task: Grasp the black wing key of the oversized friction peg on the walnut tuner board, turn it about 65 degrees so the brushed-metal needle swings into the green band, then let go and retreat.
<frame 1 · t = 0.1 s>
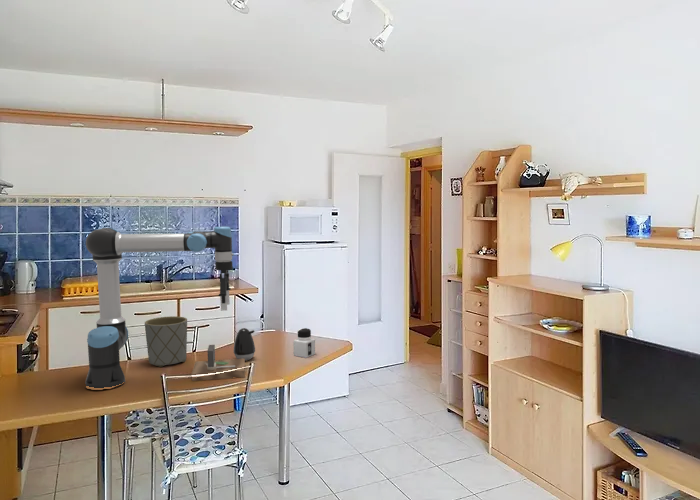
hand: (225, 307, 242), 28 cm above the table, fingers open, 13 cm apart
container: (304, 355, 263), on the table
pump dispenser: (244, 359, 257), on the table
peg: (221, 357, 233), point 8 cm above the table, hinge at 0.0°
planter: (167, 362, 254), on the table
tuner board: (219, 372, 237), on the table
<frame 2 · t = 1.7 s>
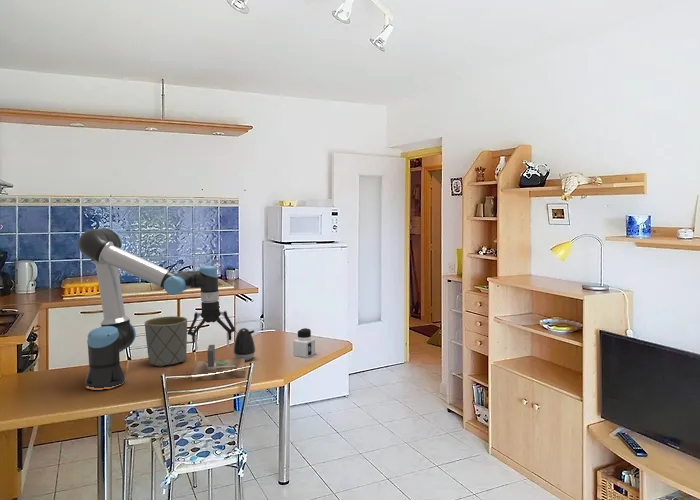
hand: (212, 348, 235), 11 cm above the table, fingers open, 13 cm apart
nothing on the table moved.
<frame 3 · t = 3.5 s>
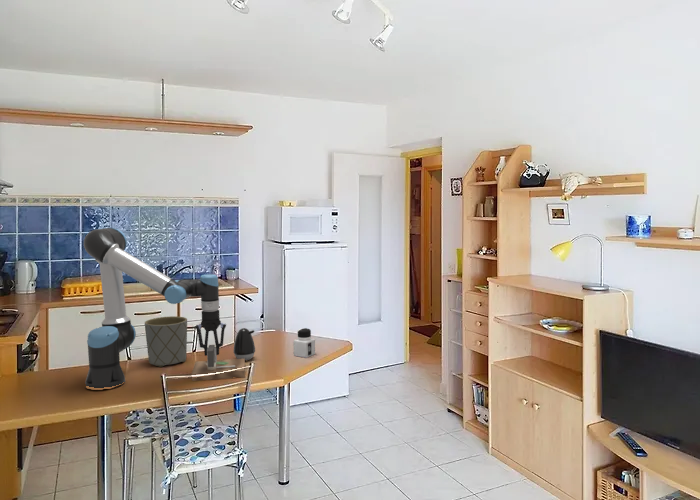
hand: (212, 362, 236), 5 cm above the table, fingers closed on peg, 2 cm apart
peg: (221, 357, 233), point 8 cm above the table, hinge at 0.0°, touching gripper
everything else where it was.
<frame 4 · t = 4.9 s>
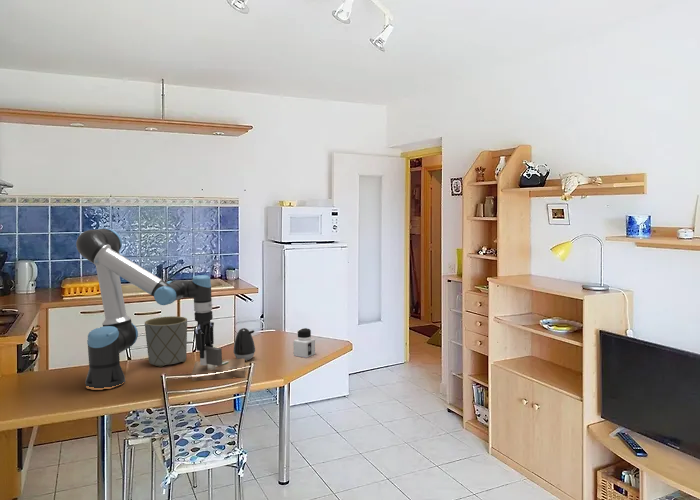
hand: (206, 363, 234), 5 cm above the table, fingers open, 3 cm apart
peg: (218, 356, 236), point 8 cm above the table, hinge at 48.9°, touching gripper
everything else where it was.
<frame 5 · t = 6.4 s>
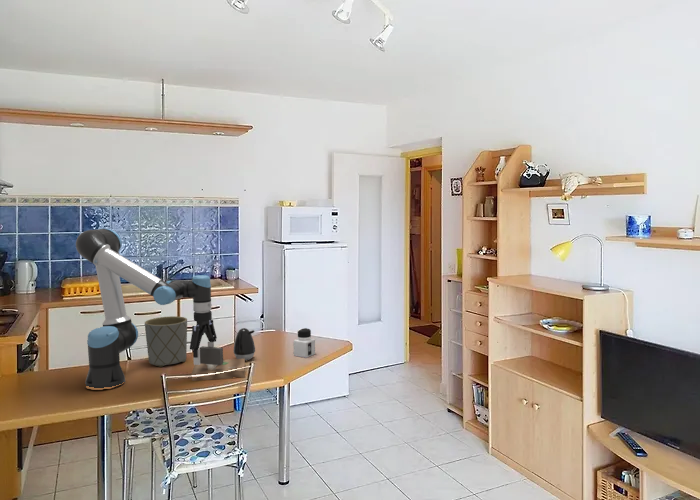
hand: (204, 360, 233), 7 cm above the table, fingers open, 11 cm apart
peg: (216, 355, 236), point 8 cm above the table, hinge at 63.5°
everything else where it was.
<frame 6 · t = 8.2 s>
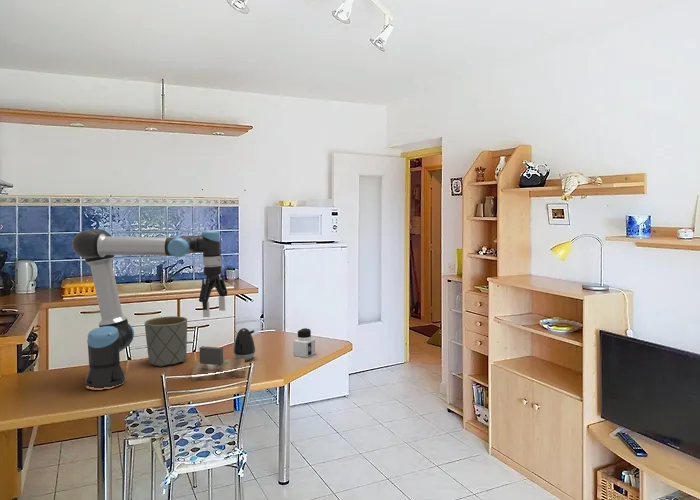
hand: (214, 313, 236), 26 cm above the table, fingers open, 13 cm apart
nothing on the table moved.
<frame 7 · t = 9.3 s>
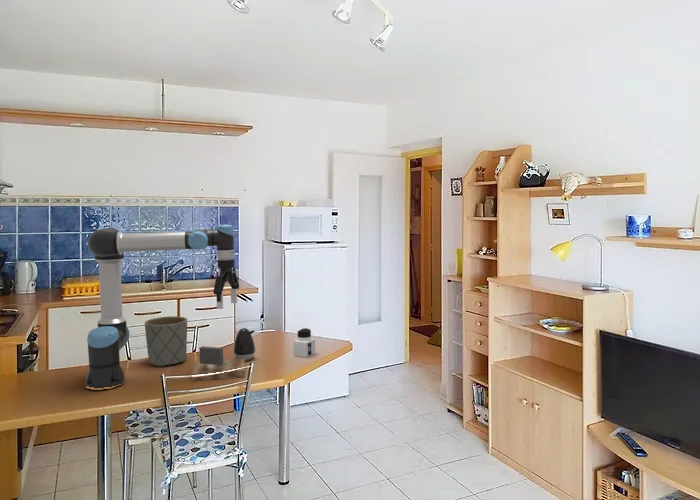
hand: (227, 305, 241), 29 cm above the table, fingers open, 13 cm apart
nothing on the table moved.
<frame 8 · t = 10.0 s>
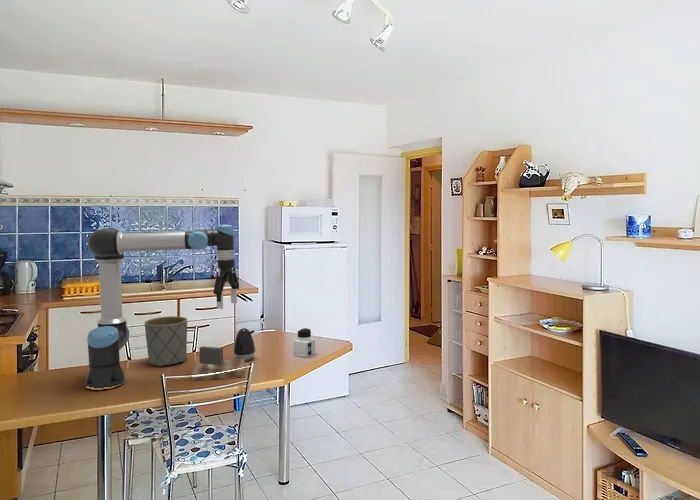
hand: (227, 305, 241), 29 cm above the table, fingers open, 13 cm apart
nothing on the table moved.
at the end: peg at +64° (first picture: +0°); the gripper is holding nothing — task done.
